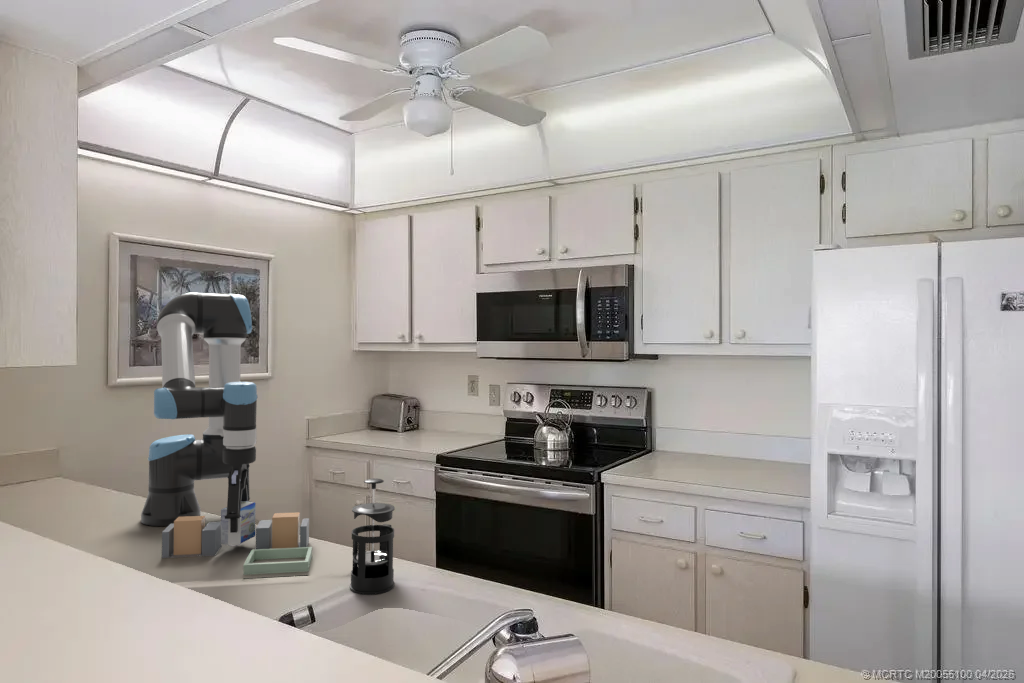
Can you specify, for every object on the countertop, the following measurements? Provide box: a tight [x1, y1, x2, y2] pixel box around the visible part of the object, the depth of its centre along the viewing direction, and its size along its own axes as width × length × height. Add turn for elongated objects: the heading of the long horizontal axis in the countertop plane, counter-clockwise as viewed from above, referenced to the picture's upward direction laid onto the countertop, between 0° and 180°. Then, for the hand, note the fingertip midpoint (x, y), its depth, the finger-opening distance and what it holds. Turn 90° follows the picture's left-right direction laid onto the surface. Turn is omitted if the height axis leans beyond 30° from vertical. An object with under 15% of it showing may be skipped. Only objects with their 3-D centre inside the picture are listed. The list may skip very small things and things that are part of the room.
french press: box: [349, 478, 396, 596], centre depth 146 cm, size 12×9×23 cm
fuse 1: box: [174, 515, 206, 555], centre depth 162 cm, size 4×6×8 cm, turn 102°
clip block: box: [161, 517, 310, 559], centre depth 165 cm, size 7×32×7 cm, turn 102°
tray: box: [242, 546, 313, 580], centre depth 155 cm, size 11×14×3 cm
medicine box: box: [220, 500, 257, 547], centre depth 165 cm, size 8×4×9 cm, turn 168°
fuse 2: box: [271, 511, 301, 549], centre depth 167 cm, size 4×6×8 cm, turn 102°
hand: (238, 538), depth 165 cm, fingers closed on medicine box, 9 cm apart
